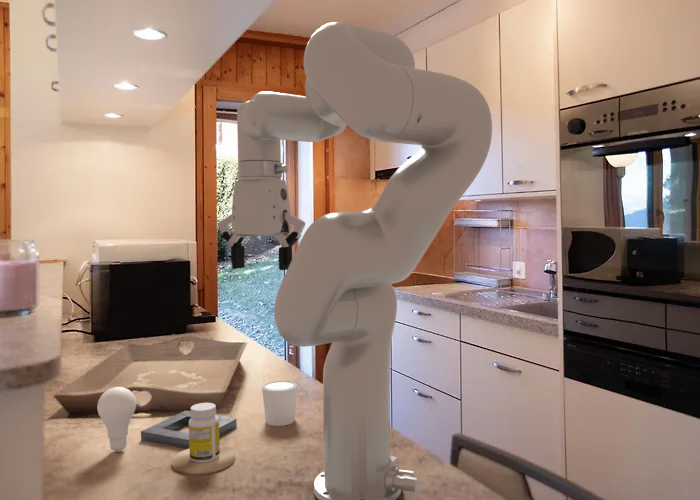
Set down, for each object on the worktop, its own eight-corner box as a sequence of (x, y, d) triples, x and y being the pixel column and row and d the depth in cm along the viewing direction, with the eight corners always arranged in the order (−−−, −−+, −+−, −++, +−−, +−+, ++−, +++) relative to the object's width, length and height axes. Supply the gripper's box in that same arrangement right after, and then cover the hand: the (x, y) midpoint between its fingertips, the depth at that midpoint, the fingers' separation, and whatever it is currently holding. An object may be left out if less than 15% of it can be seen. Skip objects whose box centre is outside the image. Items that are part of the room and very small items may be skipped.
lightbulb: (144, 451, 97) (142, 387, 97) (107, 462, 93) (105, 395, 92) (128, 441, 102) (126, 380, 101) (92, 451, 97) (90, 387, 97)
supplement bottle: (208, 449, 96) (206, 399, 96) (225, 456, 93) (224, 405, 93) (183, 458, 93) (182, 407, 92) (201, 466, 90) (199, 413, 89)
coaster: (247, 453, 96) (247, 450, 96) (210, 478, 87) (210, 474, 87) (198, 445, 100) (198, 441, 100) (158, 468, 91) (158, 464, 91)
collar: (236, 426, 109) (236, 418, 108) (195, 450, 98) (195, 441, 97) (185, 418, 113) (185, 410, 113) (141, 440, 102) (140, 431, 102)
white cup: (255, 423, 110) (254, 387, 110) (275, 412, 116) (274, 378, 116) (285, 429, 107) (285, 392, 107) (304, 417, 113) (303, 382, 113)
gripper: (312, 172, 102) (313, 268, 103) (230, 176, 109) (232, 266, 110) (292, 169, 95) (294, 272, 96) (206, 173, 102) (208, 269, 103)
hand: (261, 268), depth 103 cm, fingers open, 9 cm apart
